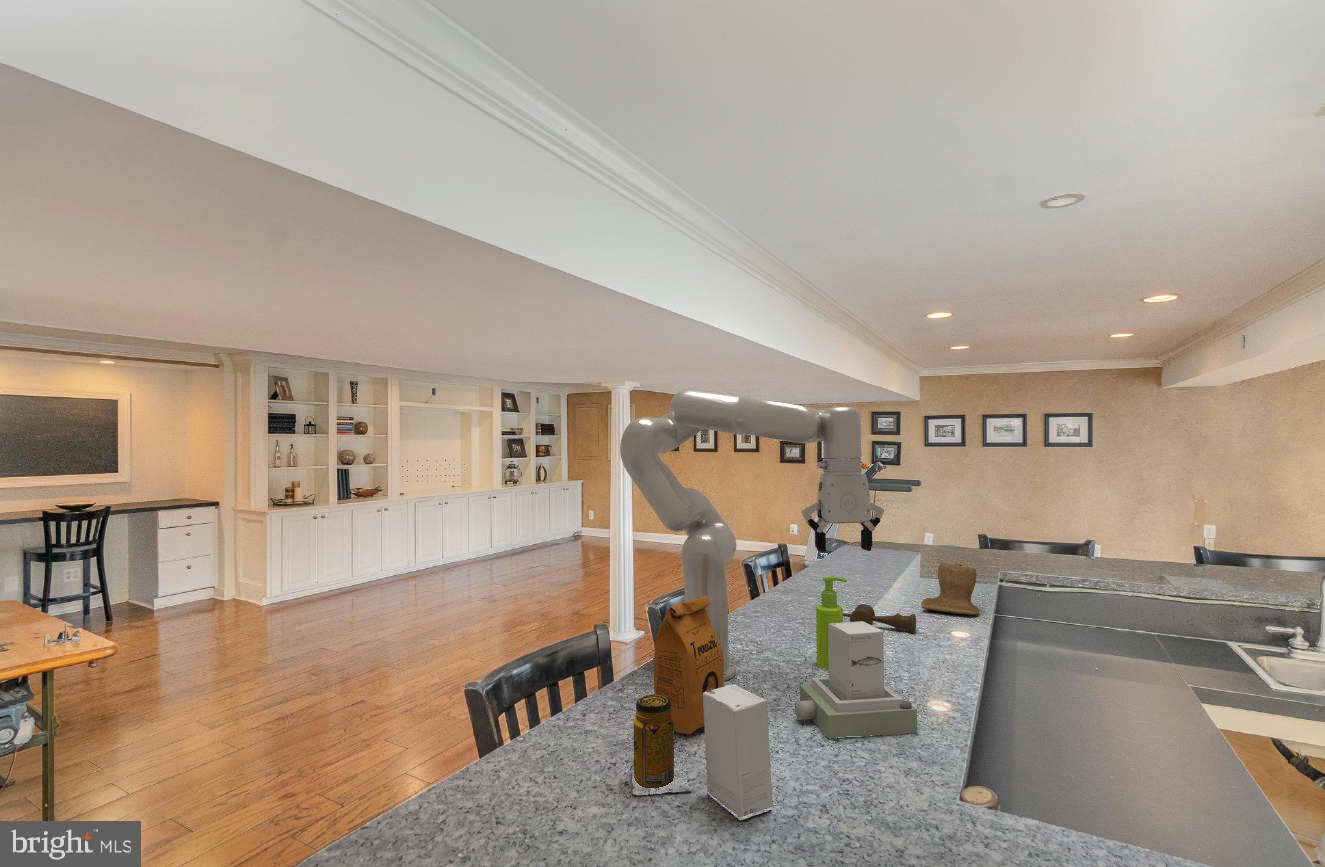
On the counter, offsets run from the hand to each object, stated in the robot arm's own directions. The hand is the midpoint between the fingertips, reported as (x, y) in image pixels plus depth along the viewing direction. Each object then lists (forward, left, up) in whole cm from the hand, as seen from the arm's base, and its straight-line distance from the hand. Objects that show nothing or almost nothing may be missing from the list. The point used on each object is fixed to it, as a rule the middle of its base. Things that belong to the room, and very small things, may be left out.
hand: (843, 550), depth 127 cm
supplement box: (-4, -13, -24) cm, 28 cm away
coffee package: (-34, -10, -28) cm, 45 cm away
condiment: (-42, -29, -29) cm, 59 cm away
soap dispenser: (+3, +14, -28) cm, 32 cm away
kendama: (+27, +40, -29) cm, 56 cm away
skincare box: (-32, -36, -28) cm, 56 cm away
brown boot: (+57, +53, -29) cm, 83 cm away
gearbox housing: (-6, -13, -28) cm, 32 cm away
